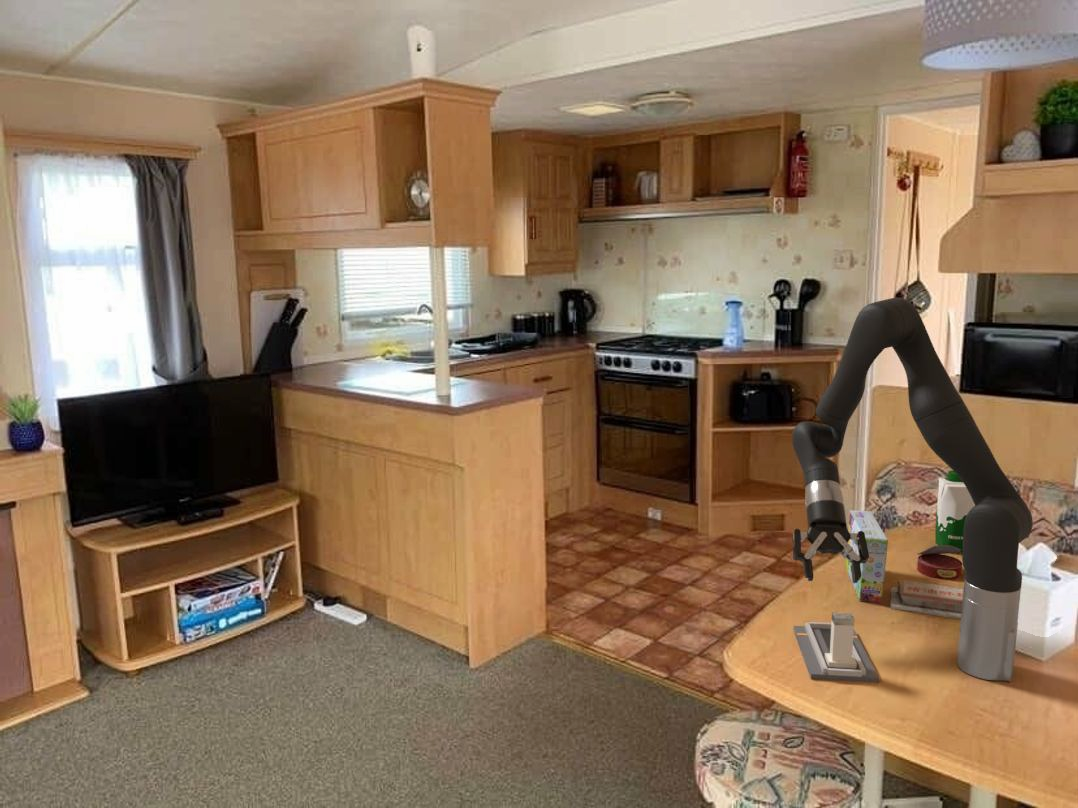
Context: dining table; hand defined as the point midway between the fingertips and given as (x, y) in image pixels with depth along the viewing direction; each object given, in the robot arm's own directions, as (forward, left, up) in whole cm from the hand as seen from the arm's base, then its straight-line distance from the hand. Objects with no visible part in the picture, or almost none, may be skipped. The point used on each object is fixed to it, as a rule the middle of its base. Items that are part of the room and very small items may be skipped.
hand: (833, 580), depth 164 cm
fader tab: (-4, +9, -13) cm, 16 cm away
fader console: (-1, +3, -14) cm, 14 cm away
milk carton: (-14, -72, -14) cm, 75 cm away
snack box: (+1, -36, -14) cm, 39 cm away
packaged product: (-15, -31, -15) cm, 37 cm away
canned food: (-13, -53, -14) cm, 56 cm away
